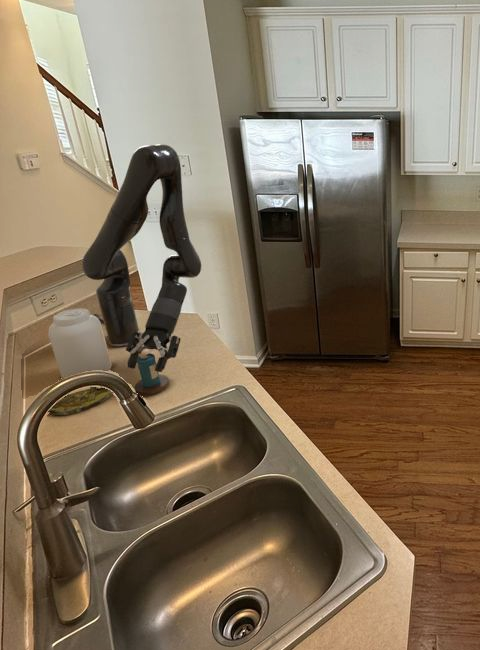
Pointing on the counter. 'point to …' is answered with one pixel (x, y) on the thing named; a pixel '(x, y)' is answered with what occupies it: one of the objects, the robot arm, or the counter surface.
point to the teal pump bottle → (147, 367)
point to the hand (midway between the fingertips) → (144, 369)
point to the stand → (154, 389)
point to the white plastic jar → (78, 342)
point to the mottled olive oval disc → (80, 401)
